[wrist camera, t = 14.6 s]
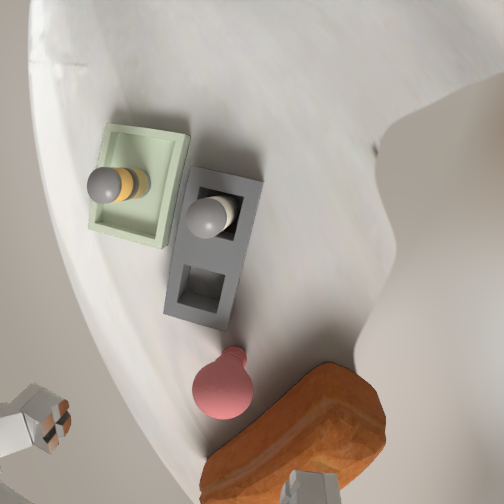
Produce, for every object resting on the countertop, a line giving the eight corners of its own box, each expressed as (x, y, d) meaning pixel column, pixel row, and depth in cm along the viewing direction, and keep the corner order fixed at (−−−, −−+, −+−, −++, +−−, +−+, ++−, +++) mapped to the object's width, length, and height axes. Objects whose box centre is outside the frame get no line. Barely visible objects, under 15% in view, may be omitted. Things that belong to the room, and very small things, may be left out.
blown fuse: (128, 166, 37) (90, 164, 28) (154, 171, 37) (120, 170, 28) (122, 195, 38) (84, 200, 29) (148, 201, 38) (114, 207, 29)
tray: (115, 125, 37) (106, 123, 34) (191, 137, 36) (185, 134, 34) (97, 226, 40) (87, 228, 37) (167, 245, 40) (161, 249, 37)
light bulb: (197, 355, 43) (174, 408, 31) (227, 322, 41) (209, 372, 30) (237, 382, 43) (225, 439, 32) (268, 352, 42) (264, 408, 30)
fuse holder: (199, 167, 37) (190, 166, 33) (263, 182, 37) (262, 182, 33) (173, 301, 41) (163, 313, 37) (230, 318, 41) (225, 331, 37)
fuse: (211, 191, 38) (191, 194, 29) (241, 199, 38) (229, 204, 29) (204, 221, 39) (181, 232, 30) (233, 229, 38) (219, 243, 30)
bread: (385, 392, 42) (415, 462, 27) (257, 487, 50) (251, 548, 35) (324, 350, 41) (341, 427, 26) (199, 459, 49) (180, 523, 34)
